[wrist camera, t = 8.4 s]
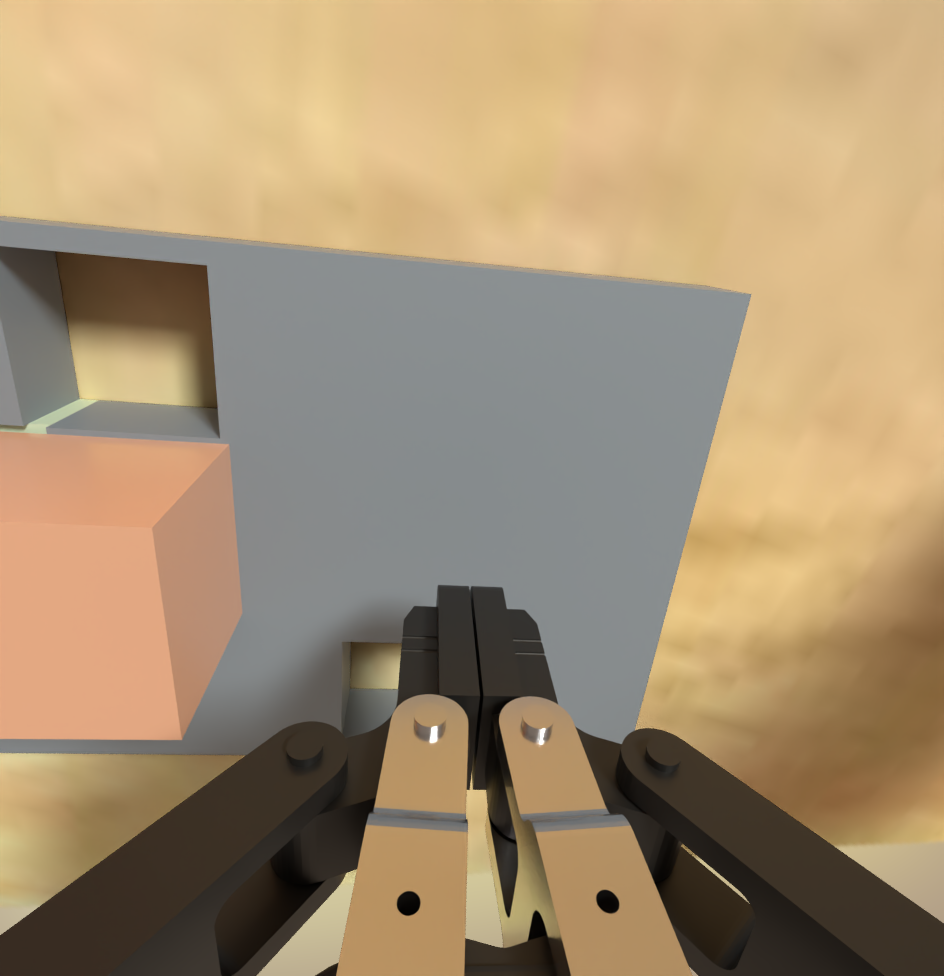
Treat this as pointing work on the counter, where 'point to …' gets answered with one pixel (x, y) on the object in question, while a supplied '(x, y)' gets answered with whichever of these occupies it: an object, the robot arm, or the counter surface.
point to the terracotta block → (112, 584)
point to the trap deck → (407, 457)
